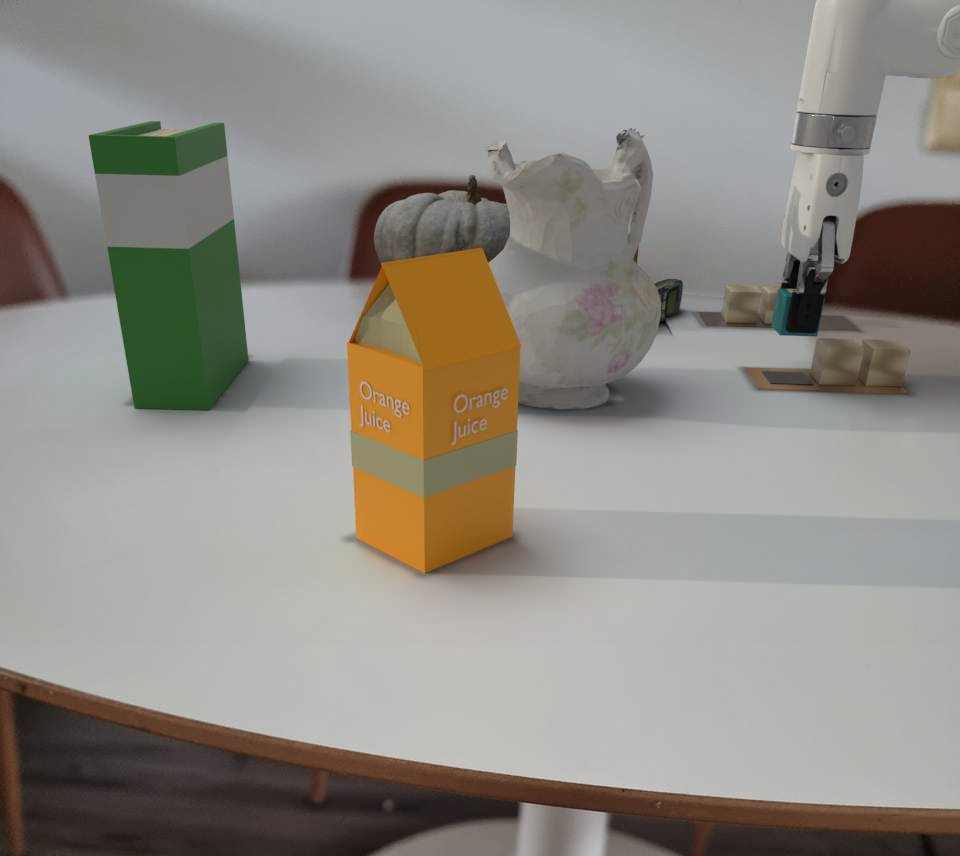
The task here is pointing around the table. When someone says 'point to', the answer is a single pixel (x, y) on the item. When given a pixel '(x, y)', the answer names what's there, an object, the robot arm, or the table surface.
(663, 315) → the mobile phone
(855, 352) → the right board
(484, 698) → the table surface
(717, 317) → the left board
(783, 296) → the teal block
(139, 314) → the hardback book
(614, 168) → the ceramic pitcher
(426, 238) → the gourd
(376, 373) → the orange juice
